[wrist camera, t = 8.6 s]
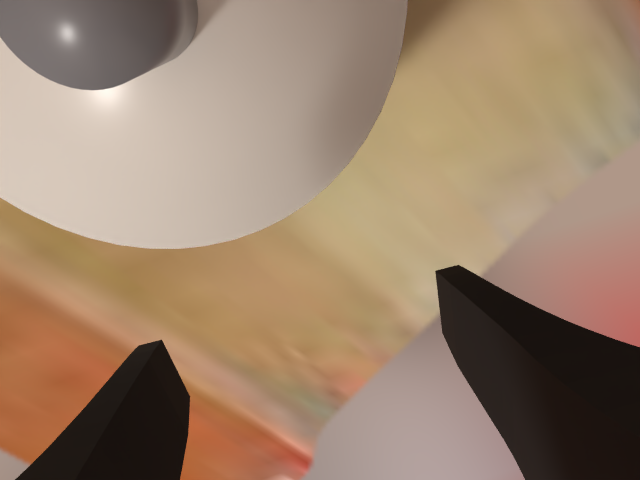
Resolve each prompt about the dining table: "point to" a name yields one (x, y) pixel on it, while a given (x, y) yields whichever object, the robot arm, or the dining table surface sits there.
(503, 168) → the dining table surface
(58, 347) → the dining table surface
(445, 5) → the dining table surface
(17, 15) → the lid
